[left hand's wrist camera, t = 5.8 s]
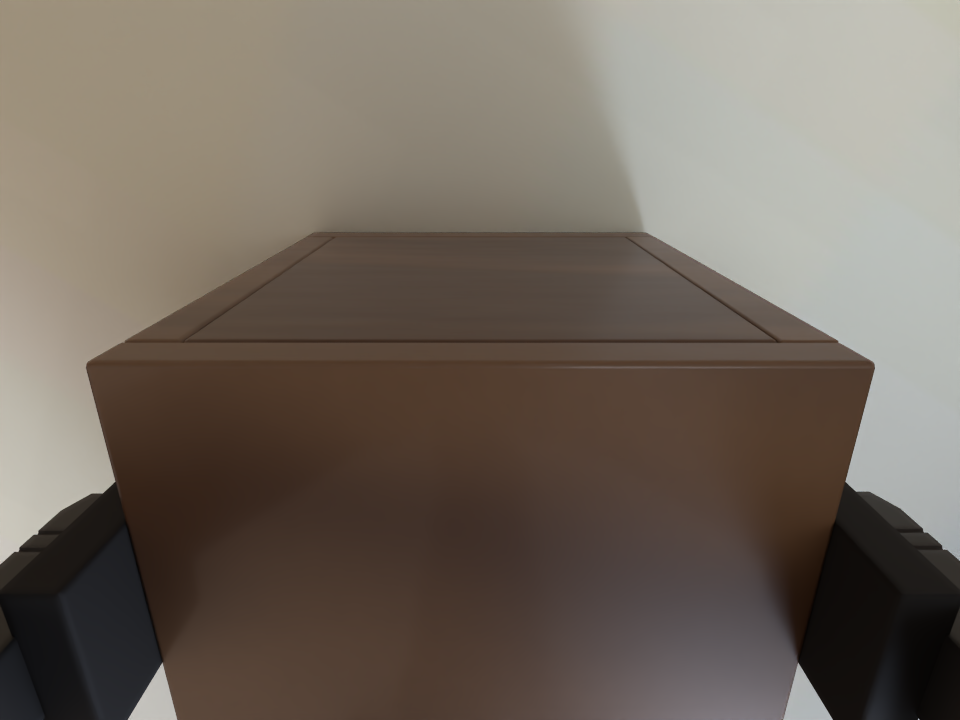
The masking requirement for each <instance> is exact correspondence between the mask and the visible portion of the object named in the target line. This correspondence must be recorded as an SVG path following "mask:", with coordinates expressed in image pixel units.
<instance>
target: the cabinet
mask: <svg viewBox="0 0 960 720" xmlns="http://www.w3.org/2000/svg"><path fill="white" fill-rule="evenodd" d="M86 369H87V373H88V377H89V381H90V385H91V389H92V392H93V396H94V400H95V404H96V408H97V412H98V416H99V419H100V423H101V427H102V431H103V435H104V439H105V442H106V446H107V450H108V454H109V458H110V462H111V466H112V469H113V473H114V477H115V481H116V485H117V489H118V493H119V496H120V500H121V504H122V508H123V512H124V516H125V519H126V523H127V527H128V531H129V535H130V539H131V543H132V546H133V550H134V554H135V558H136V562H137V566H138V569H139V573H140V577H141V581H142V585H143V589H144V593H145V596H146V600H147V604H148V608H149V612H150V616H151V620H152V623H153V627H154V631H155V635H156V639H157V643H158V646H159V650H160V654H161V658H162V662H163V666H164V670H165V673H166V677H167V681H168V685H169V689H170V693H171V696H172V700H173V704H174V708H175V712H176V716H177V720H783V718H784V714H785V710H786V707H787V703H788V699H789V695H790V691H791V687H792V684H793V680H794V676H795V672H796V668H797V664H798V661H799V657H800V653H801V649H802V645H803V641H804V638H805V634H806V630H807V626H808V622H809V618H810V615H811V611H812V607H813V603H814V599H815V595H816V592H817V588H818V584H819V580H820V576H821V572H822V569H823V565H824V561H825V557H826V553H827V549H828V546H829V542H830V538H831V534H832V530H833V526H834V523H835V519H836V515H837V511H838V507H839V504H840V500H841V496H842V492H843V488H844V484H845V481H846V477H847V473H848V469H849V465H850V461H851V458H852V454H853V450H854V446H855V442H856V438H857V435H858V431H859V427H860V423H861V419H862V415H863V412H864V408H865V404H866V400H867V396H868V392H869V389H870V385H871V381H872V377H873V373H874V369H875V366H874V363H873V362H872V361H870V360H869V359H867V358H865V357H863V356H862V355H860V354H858V353H856V352H855V351H853V350H851V349H849V348H848V347H846V346H844V345H842V344H840V343H838V341H837V340H836V339H834V338H832V337H830V336H829V335H827V334H825V333H823V332H822V331H820V330H818V329H816V328H815V327H813V326H811V325H809V324H807V323H806V322H804V321H802V320H800V319H799V318H797V317H795V316H793V315H792V314H790V313H788V312H786V311H784V310H783V309H781V308H779V307H777V306H776V305H774V304H772V303H770V302H769V301H767V300H765V299H763V298H761V297H760V296H758V295H756V294H754V293H753V292H751V291H749V290H747V289H746V288H744V287H742V286H740V285H739V284H737V283H735V282H733V281H731V280H730V279H728V278H726V277H724V276H723V275H721V274H719V273H717V272H716V271H714V270H712V269H710V268H708V267H707V266H705V265H703V264H701V263H700V262H698V261H696V260H694V259H693V258H691V257H689V256H687V255H685V254H684V253H682V252H680V251H678V250H677V249H675V248H673V247H671V246H670V245H668V244H666V243H664V242H663V241H661V240H659V239H657V238H655V237H653V236H651V235H649V234H648V233H313V234H311V235H309V236H307V237H306V238H304V239H302V240H301V241H299V242H297V243H295V244H294V245H292V246H290V247H288V248H287V249H285V250H283V251H281V252H280V253H278V254H276V255H274V256H273V257H271V258H269V259H267V260H266V261H264V262H262V263H260V264H259V265H257V266H255V267H253V268H252V269H250V270H248V271H246V272H245V273H243V274H241V275H239V276H238V277H236V278H234V279H232V280H231V281H229V282H227V283H225V284H224V285H222V286H220V287H218V288H216V289H215V290H213V291H211V292H209V293H208V294H206V295H204V296H202V297H201V298H199V299H197V300H195V301H194V302H192V303H190V304H188V305H187V306H185V307H183V308H181V309H180V310H178V311H176V312H174V313H173V314H171V315H169V316H167V317H166V318H164V319H162V320H160V321H159V322H157V323H155V324H153V325H152V326H150V327H148V328H146V329H145V330H143V331H141V332H139V333H138V334H136V335H134V336H132V337H131V338H129V339H127V340H125V342H124V343H121V344H118V345H116V346H115V347H113V348H111V349H109V350H108V351H106V352H104V353H102V354H101V355H99V356H97V357H95V358H94V359H92V360H90V361H88V363H87V365H86Z"/></svg>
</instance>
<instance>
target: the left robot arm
mask: <svg viewBox="0 0 960 720" xmlns="http://www.w3.org/2000/svg"><path fill="white" fill-rule="evenodd" d="M798 663H799V664H800V666H801V668H802V669H803V671H804V673H805V674H806V676H807V678H808V679H809V681H810V682H811V684H812V686H813V687H814V689H815V691H816V692H817V694H818V696H819V697H820V699H821V701H822V702H823V704H824V706H825V707H826V709H827V710H828V712H829V714H830V715H831V717H832V719H833V720H918V718H919V719H920V720H960V561H959V560H958V559H957V558H956V557H954V556H953V555H952V554H951V553H950V552H949V551H948V550H943V549H942V545H941V544H940V543H939V542H937V541H936V540H935V539H934V538H933V537H932V536H931V535H929V534H928V533H924V532H923V528H922V527H920V526H919V525H918V524H917V523H916V522H915V521H914V520H912V519H911V518H910V517H909V516H908V515H907V514H906V513H904V512H903V511H902V510H901V509H900V508H898V507H896V506H894V505H892V504H891V503H889V502H887V501H885V500H883V499H882V498H880V497H878V496H876V495H874V494H873V493H871V492H855V491H854V490H853V489H852V488H851V487H850V486H849V485H848V484H847V483H846V482H845V484H844V488H843V492H842V496H841V500H840V504H839V507H838V511H837V515H836V519H835V523H834V526H833V530H832V534H831V538H830V542H829V546H828V549H827V553H826V557H825V561H824V565H823V569H822V572H821V576H820V580H819V584H818V588H817V592H816V595H815V599H814V603H813V607H812V611H811V615H810V618H809V622H808V626H807V630H806V634H805V638H804V641H803V645H802V649H801V653H800V657H799V661H798ZM161 664H162V658H161V654H160V650H159V646H158V643H157V639H156V635H155V631H154V627H153V623H152V620H151V616H150V612H149V608H148V604H147V600H146V596H145V593H144V589H143V585H142V581H141V577H140V573H139V569H138V566H137V562H136V558H135V554H134V550H133V546H132V543H131V539H130V535H129V531H128V527H127V523H126V519H125V516H124V512H123V508H122V504H121V500H120V496H119V493H118V489H117V485H116V482H115V483H114V484H113V485H112V486H111V487H109V488H108V489H107V490H106V491H105V492H104V493H103V494H90V495H88V496H87V497H85V498H83V499H81V500H80V501H78V502H76V503H74V504H72V505H71V506H69V507H67V508H65V509H63V510H62V511H60V512H59V513H58V514H57V515H56V516H55V517H53V518H52V519H51V520H50V521H49V522H48V523H47V524H46V525H44V526H43V527H42V528H41V529H40V530H39V533H38V535H33V536H32V537H31V538H30V539H29V540H28V541H26V542H25V543H24V544H23V545H22V546H21V547H20V550H19V552H14V553H13V554H12V555H11V556H9V557H8V558H7V559H6V560H5V561H4V562H3V563H2V564H0V720H128V718H129V716H130V715H131V713H132V711H133V710H134V708H135V707H136V705H137V703H138V702H139V700H140V698H141V697H142V695H143V693H144V692H145V690H146V688H147V687H148V685H149V683H150V682H151V680H152V679H153V677H154V675H155V674H156V672H157V670H158V669H159V667H160V665H161Z"/></svg>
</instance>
